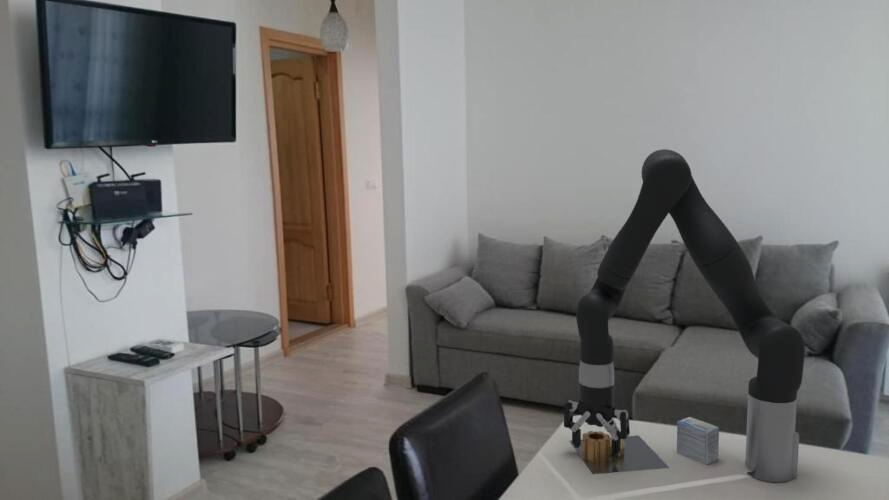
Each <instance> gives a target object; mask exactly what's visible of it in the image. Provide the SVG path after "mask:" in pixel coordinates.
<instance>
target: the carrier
mask: <svg viewBox="0 0 889 500" xmlns="http://www.w3.org/2000/svg"><path fill="white" fill-rule="evenodd" d="M641 437H642V436H640V435H638V434H637V435H628V436H627V438H626V439H621V445H620V451H619V453H618V454H616V456H613V455H612V439H613V438H612V436H610V460H609V461H606V462H604V463H603V464H600V463H594V464H593V463H590V462H589V461H587V460H584V459H583V456H582V450H583V439H581V445H580V446H579V447H578V448H576V447H574V445H573V443H572V439H571V440H569V442H570V444H571V446H572V447H573V449H574V450H575V451H576V453H577V455H579V457H580V458H581V460H582V461H583V463H584V464H585V465H586V467H587V468H588V469H589V471H590V473H591V474H592V475H599V474H610V473H611V474H613V473H623V472H637V471H647V470H650V471H651V470H658V469H659V470H660V469H670V466H669V465H667V463H666V462H665V461H664V460H663V459H662V458H661V457H660V456H659V455H658V453H656V452H655V451H654V450H653V449H652V448H651V446H649V445H648V444H647V442H646V441H645V440H644V439H643V438H641Z"/></svg>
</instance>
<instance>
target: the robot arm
mask: <svg viewBox="0 0 889 500" xmlns="http://www.w3.org/2000/svg"><path fill="white" fill-rule="evenodd" d="M641 179H642V180H641V181H642V184H641V187H640V191H639V194H638V196H637V200H636V202H635V204H634V206H633V209H632V210H631V212H630V215H629V216H628V218H626V219H627V220H626V221H625V222H624V224H623V226H622V227H621V228H620V229H619V231H618V232H617V234H616V235H615V237H614V239H613V240H612V241H611V243H610V245H609V247H608V248H607V251H606V253H605V255H604V256H603V259H602V261H600V265H599V267H598V269H597V272H596V274H597V278H596V280H595V281H594V284H593V285H592V288H591V289H590V291H589V292H588V293H586V294H584V295H583V296H582V297H581V298H580V299H579V300H578V301H577V305H576V312H575V314H576V317H575V318H576V319H575V320H576V323H577V331H578V335H579V338H580V339H579V340H580V347H579V348H580V350H579V351H580V352H579V353H580V354H579V355H580V357H579V359H580V360H579V368H578V402H577V401H574V400H573V399H571V398H570V399H569V400H568V401H566V402H565V404H564V413H563V415H564V416H563V427H564V428H568V429H570V430H571V440H572V443H573V445H574V447H576V448H578V447H579V446H580V445H581V440H582V439H581V438H582V433H581V432H582V429H580V428H582V426H583V425H584V423H586V424H587V425H588V426H596V427H598V428H602V427H603V428H604V429H605V431H606V432H607V433H608V434H609V436H610V437H612V438H613V439H612V455H613V456H616V454H618V453H619V451H620V445H621V439H626V438H627V436H630V434H631V431H630V412H629V410H628V409H627V408H624V409H623V410H622V409H616V407H615V405H614V404H615V378H616V377H615V367H614V341H613V338H612V336H611V335H610V334H609V320H610V319H611V318H612V317H613V316H614V315H615V313H616V311H618V308H619V306H620V304H621V302H622V300H623V296H624V294H625V292H626V288H627V286H628V284H629V283H630V281H632V278H633V276H634V274H635V273H636V270H637V269H638V267H639V265H640V263H641V261H642V259H643V258H644V256H645V254H646V251H647V249H648V248H649V246H650V244H651V242H652V240H653V239H654V236H655V235H656V233H657V231H658V230H659V228H660V227H661V225H662V223H663V222H664V221H665V219H666V218H667V216H668V215H670V217H671V219H672V220H673V222H674V224H675V225H676V228H677V230H678V232H679V235H680V238H681V239H682V241H683V244H684V245H685V248H686V250H687V251H688V254H689V256H690V258H691V260H692V261H693V262H694V264H695V266H696V268H697V269H698V271H699V272H700V274H701V275H702V276H703V278H704V280H705V281H706V283H707V284H708V285H709V287H710V289H711V290H712V292H714V294H715V295H716V297H717V298H718V299H719V301H720V302H721V303H722V305H724V307H725V308H726V310H727V311H728V313H729V315H730V316H731V318H732V320H733V321H734V322H733V323H734V324H735V327H736V328H737V330H738V331H739V332H738V333H739V334H740V336H741V339H742V341H743V342H744V344H745V347H746V348H747V350H748V351H749V352H750V353H751V354H752V355H753V356H754V357H755V358H757V359H758V360H757V369H756V370H757V371H756V376H754V377H752V378H750V380H749V382H748V385H747V386H748V388H747V389H748V390H747V414H746V415H747V416H746V437H745V458H744V459H745V460H744V462H745V463H744V465H745V468H746V469H747V470H749V471H748V472H746V473H747V474H748V475H749V476H751V477H753V478H755V479H757V480H760V481H763V482H769V483H784V482H785V483H786V482H788V481H790V480H792V479H793V478H798V465H799V463H798V462H799V450H800V449H799V448H800V447H799V446H800V434H799V432H797V431H796V417H797V401H798V400H797V398H798V391H799V389H800V387H801V385H802V382H803V374H804V373H803V372H804V367H805V366H804V365H805V354H806V350H805V349H806V347H805V340H804V336H803V334H802V333H801V332H800V331H799V330H798V329H797V328H795V327H794V326H792V325H791V324H788V323H787V322H785V321H782V320H781V319H780V318H778V316H777V315H775V313H774V312H773V311H772V309H770V307H769V306H768V305H767V303H766V301H765V300H764V299H763V297H762V296H761V293H760V292H759V289H758V288H757V285H756V279H755V276H754V272H753V269H752V266H751V263H750V261H749V259H748V257H747V256H746V254H745V252H744V251H743V249H742V248H741V245H740V244H739V242H738V241H737V240H736V238H735V236H734V235H733V234H732V233H731V231H730V229H729V228H728V227H727V226H726V225H725V223H724V222H723V221H722V218H720V217H719V216H718V214H717V213H716V212H715V211H714V210H713V208H711V206H710V205H709V204H708V202H707V200H705V198H704V196H703V195H702V193H701V192H700V189H699V187H698V185H697V184H696V182H695V180H694V177H693V175H692V170H691V167H690V165H689V163H688V162H687V160H686V158H685V157H684V156H683V155H682V154H681V153H678V152H677V151H675V150H671V149H664V148H663V149H658V150H655V151H653V152H651V153H650V154H649V155H648V156H647V157H646V158H645V159H644V161H643V163H642V167H641ZM576 410H577V411H578V413H579V414H580V418H578V419H577V421H576V422H574V420H573V419H574V412H575V411H576ZM614 416H616V417H617V420H618V421H619V423H620V424H619V425H620V427H619V428H620V429H619V428H618V425H617V423H616V421H615V420H614ZM574 447H573V448H574Z"/></svg>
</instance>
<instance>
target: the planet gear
mask: <svg viewBox="0 0 889 500" xmlns="http://www.w3.org/2000/svg"><path fill="white" fill-rule="evenodd" d="M610 438H611V435H610V434H609V433H604V432H603V431H600V430H598V431H594V430H589V431H588V432H586V433H585V432H584V433H582V440H583V450H582V456H583V459H584V460H587V461H589V462H590V463H593V464H594V463H600V464H603V463H604V462H606V461H609V460H610Z"/></svg>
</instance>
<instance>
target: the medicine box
mask: <svg viewBox="0 0 889 500" xmlns="http://www.w3.org/2000/svg"><path fill="white" fill-rule="evenodd" d="M676 423H677V424H676V428H677V429H676V453H678V454H680V455H683V456H685V457H688V458H689V459H693V460H695V461H697V462H699V463H701V464H703V465H704V464H705V465H710V464H712V463H714V462H715V461H716V462H717V461H719V447H720V446H719V445H720V444H719V442H720V440H719V439H720V427H719V426H716V425H714V424H712V423H708V422H705V421H702V420H700V419H697V418H694V417H691V416H688V417H684V418H683V419H681V420H678V421H677V422H676Z"/></svg>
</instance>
